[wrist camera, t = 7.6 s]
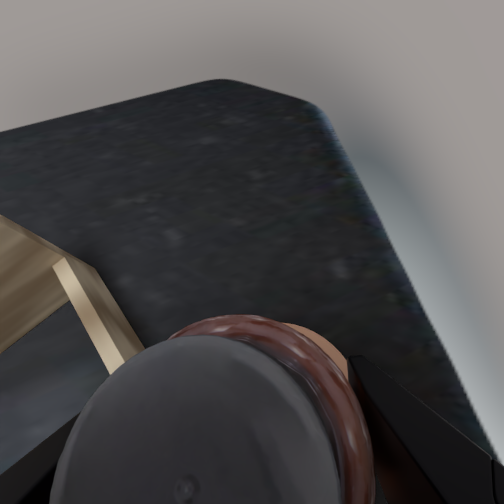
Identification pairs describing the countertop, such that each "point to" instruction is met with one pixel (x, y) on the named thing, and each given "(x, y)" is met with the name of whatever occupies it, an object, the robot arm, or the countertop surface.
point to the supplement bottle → (221, 424)
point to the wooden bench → (57, 294)
